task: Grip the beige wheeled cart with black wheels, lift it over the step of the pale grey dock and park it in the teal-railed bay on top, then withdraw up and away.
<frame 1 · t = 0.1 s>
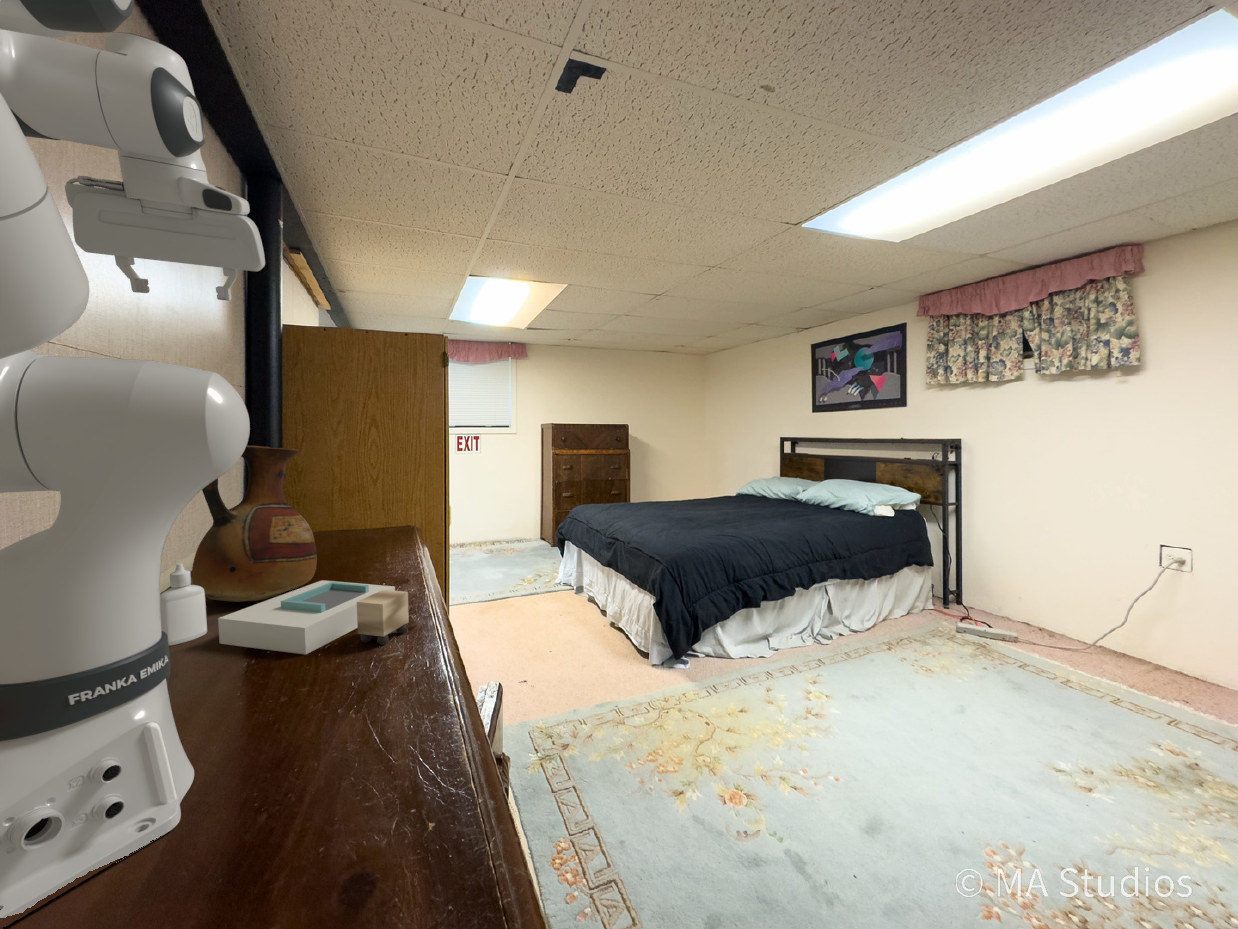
hand: (184, 296, 74), 52 cm above the dresser top, tool tilted 20°, fingers open, 8 cm apart
eye dropper bottle: (184, 640, 81), on the dresser top
dock: (315, 624, 87), on the dresser top
beige wheeled cart: (384, 637, 81), on the dresser top
ceramic pitcher: (259, 595, 102), on the dresser top
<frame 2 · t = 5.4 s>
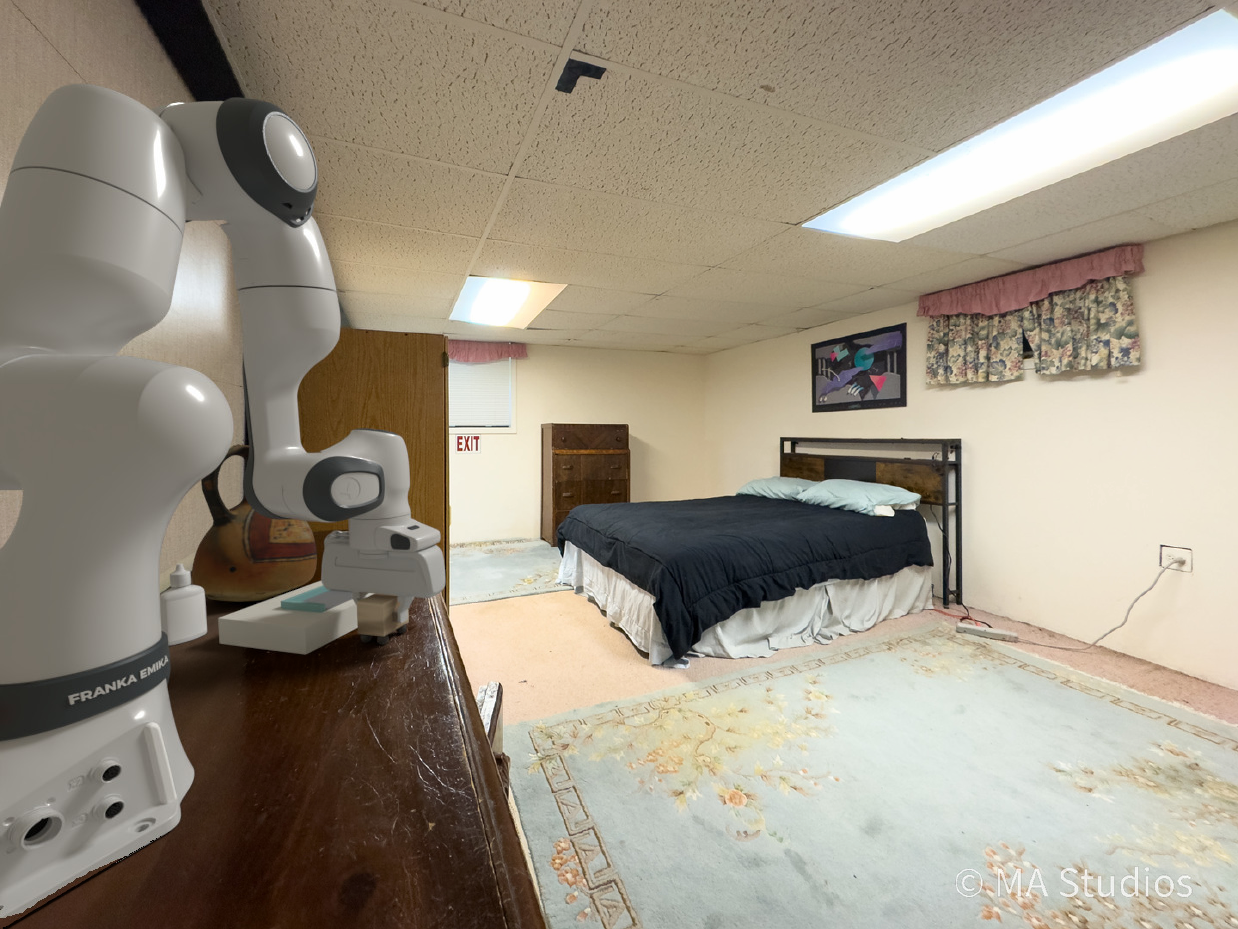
hand: (383, 619, 81), 3 cm above the dresser top, tool pointing down, fingers closed on beige wheeled cart, 5 cm apart
beige wheeled cart: (384, 637, 81), on the dresser top, touching gripper
everything else where it was.
when the fingers open (8 cm above the dresser top, at t = 12.4 s): beige wheeled cart drops 1 cm, resting on dock.
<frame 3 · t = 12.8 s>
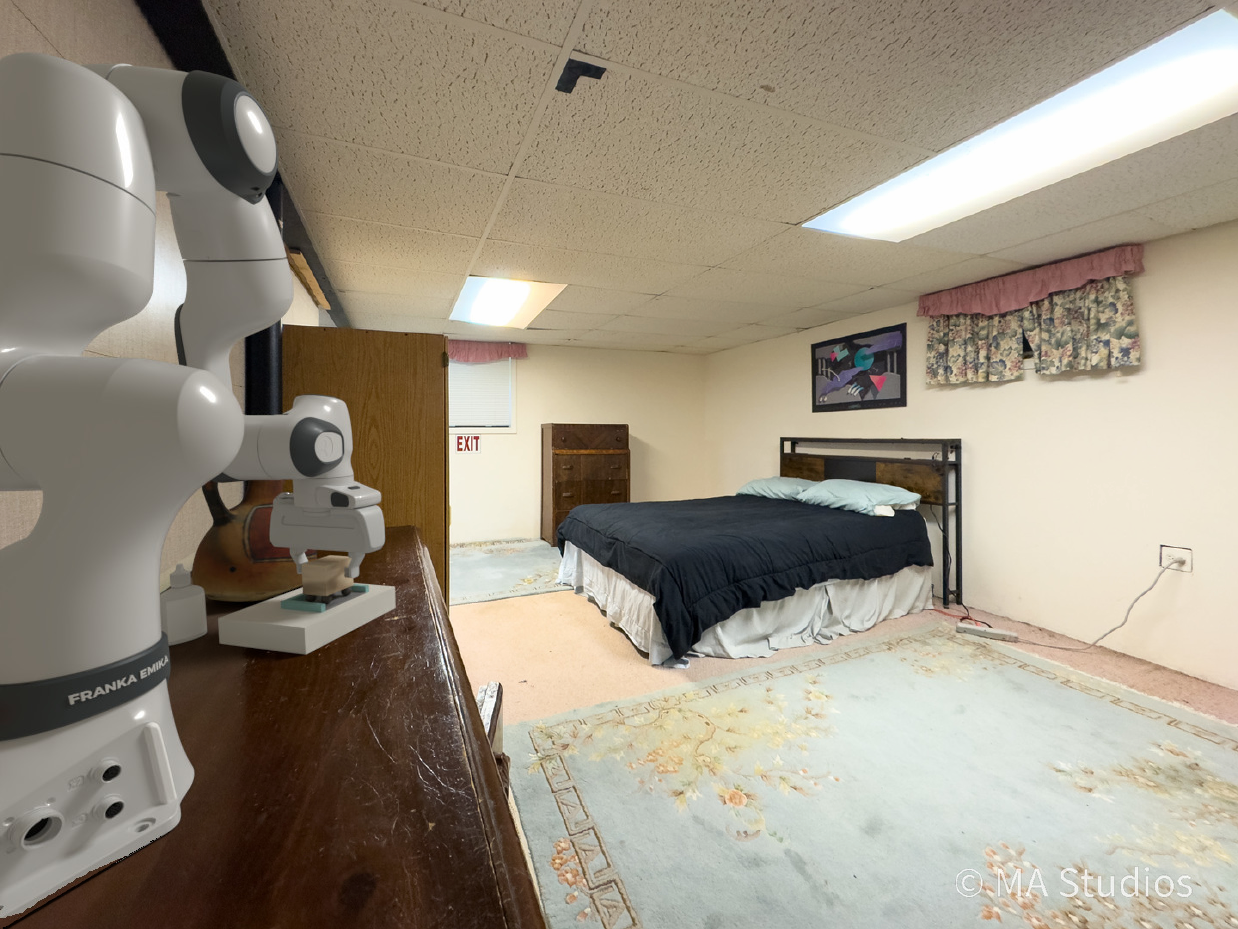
hand: (327, 575, 87), 8 cm above the dresser top, tool pointing down, fingers open, 8 cm apart
beige wheeled cart: (329, 598, 87), point 4 cm above the dresser top, touching dock
everything else where it was.
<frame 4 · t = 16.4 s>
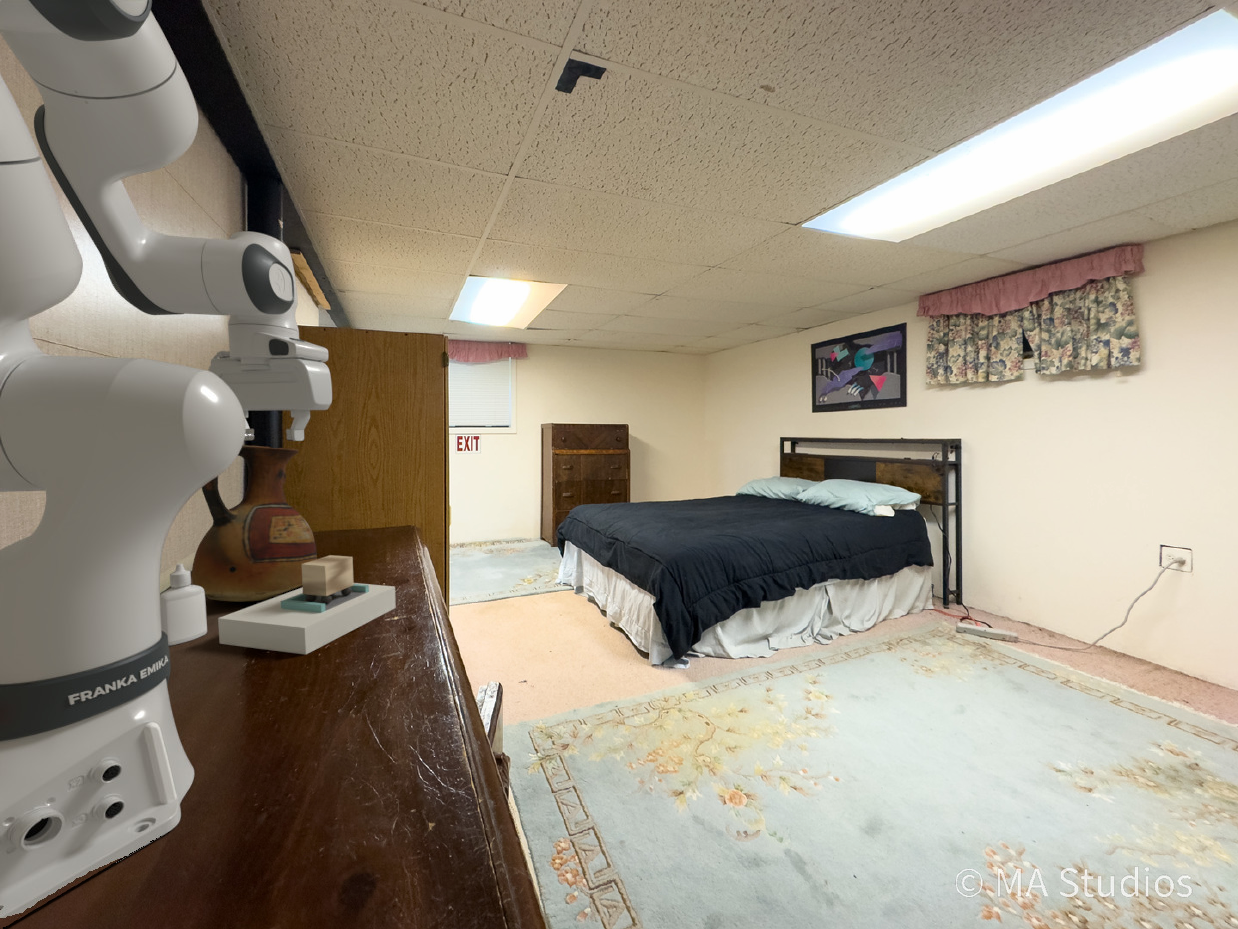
hand: (270, 440, 79), 31 cm above the dresser top, tool pointing down, fingers open, 8 cm apart
nothing on the dresser top moved.
at the end: beige wheeled cart 0.5 cm from the target spot on the dock, point 4.2 cm above the dock's base; beige wheeled cart tilted 0°; the gripper is holding nothing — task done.
